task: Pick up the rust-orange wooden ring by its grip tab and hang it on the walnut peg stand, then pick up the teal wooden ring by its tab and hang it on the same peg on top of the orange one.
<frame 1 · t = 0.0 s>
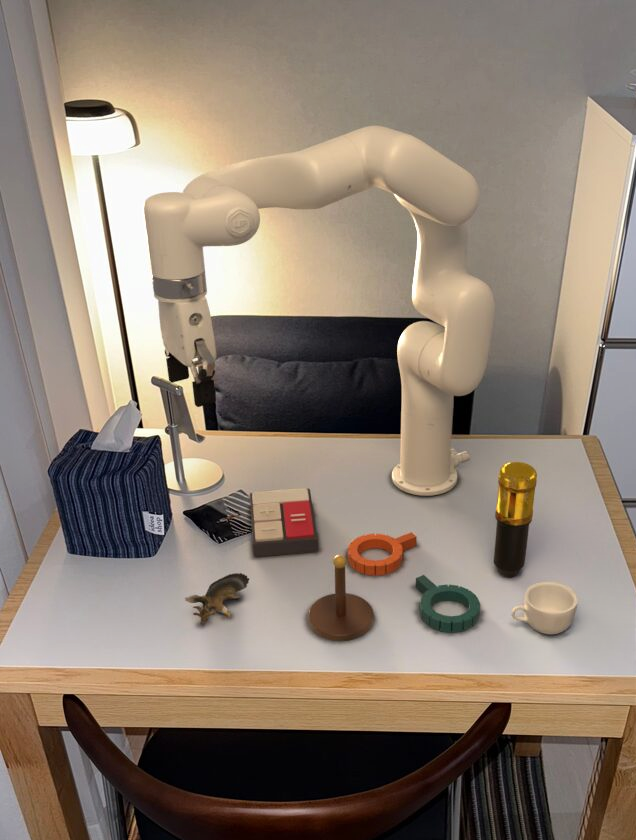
hand: (192, 391, 138), 31 cm above the table, tool pointing down, fingers open, 9 cm apart
teal ring: (449, 613, 142), on the table
eagle figurine: (219, 612, 143), on the table
orange ring: (375, 558, 154), on the table
teacup: (540, 626, 140), on the table
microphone: (527, 568, 152), on the table
peg stand: (341, 619, 141), on the table
calculator: (283, 530, 161), on the table
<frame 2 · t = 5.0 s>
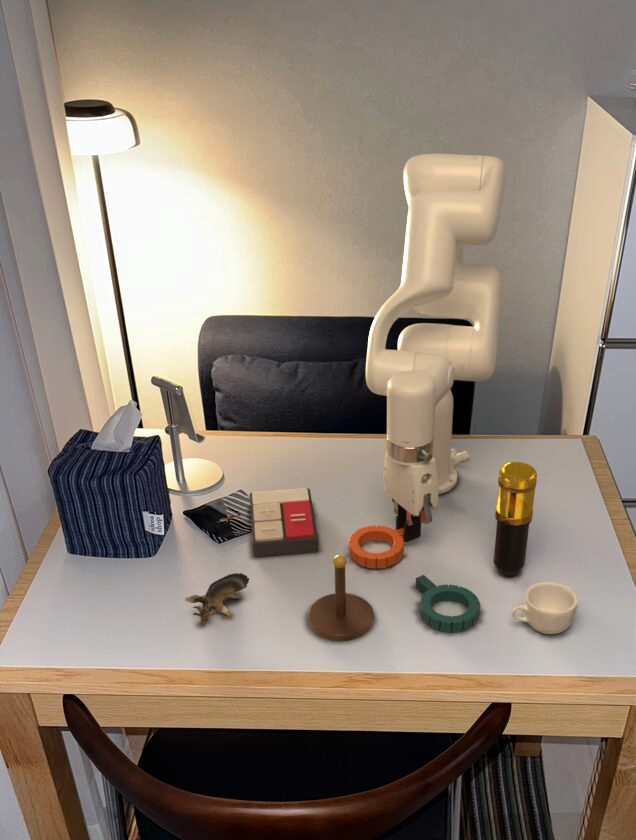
hand: (408, 535, 157), 2 cm above the table, tool pointing down, fingers closed on orange ring
orange ring: (376, 550, 154), point 1 cm above the table, touching gripper
everything else where it was.
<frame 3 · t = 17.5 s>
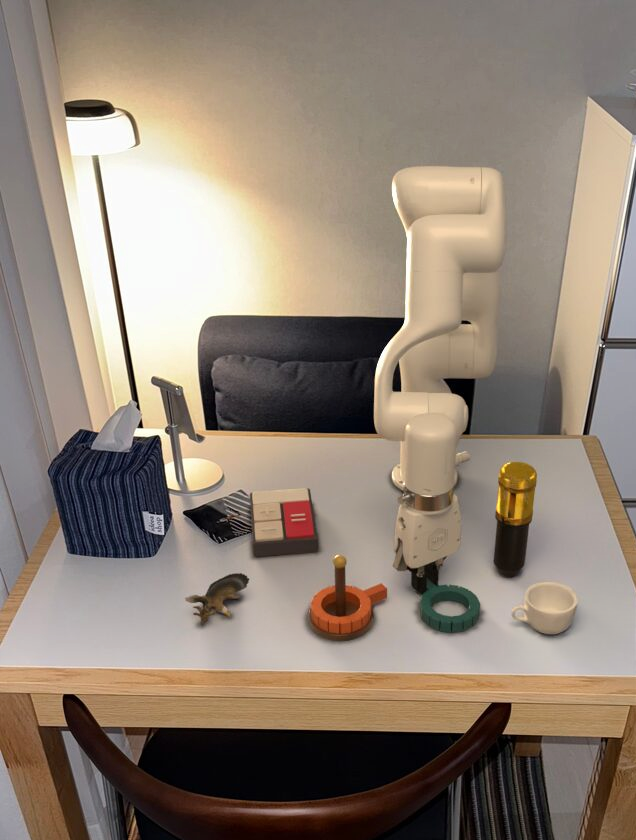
hand: (424, 587, 146), 1 cm above the table, tool pointing down, fingers closed on teal ring, 1 cm apart
teal ring: (449, 613, 142), on the table, touching gripper
orange ring: (341, 613, 140), point 1 cm above the table, touching peg stand
everything else where it was.
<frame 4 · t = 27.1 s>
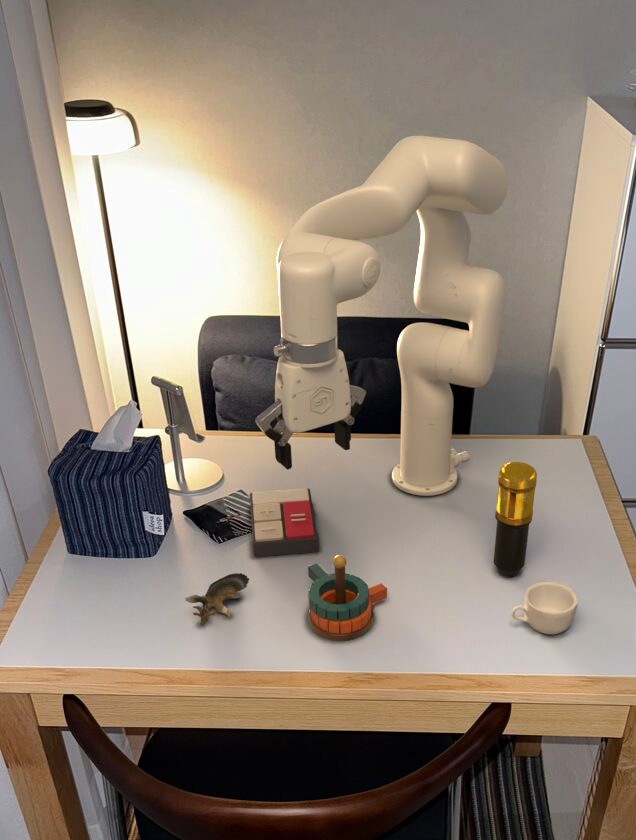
hand: (314, 455, 132), 26 cm above the table, tool pointing down, fingers open, 9 cm apart
teal ring: (339, 601, 140), point 3 cm above the table, touching orange ring
orange ring: (341, 613, 140), point 1 cm above the table, touching peg stand, teal ring
everything else where it was.
at the end: orange ring 0.1 cm off-centre on the peg stand, point 1.2 cm above the peg stand's base; teal ring 0.5 cm off-centre on the peg stand, point 3.2 cm above the peg stand's base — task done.
